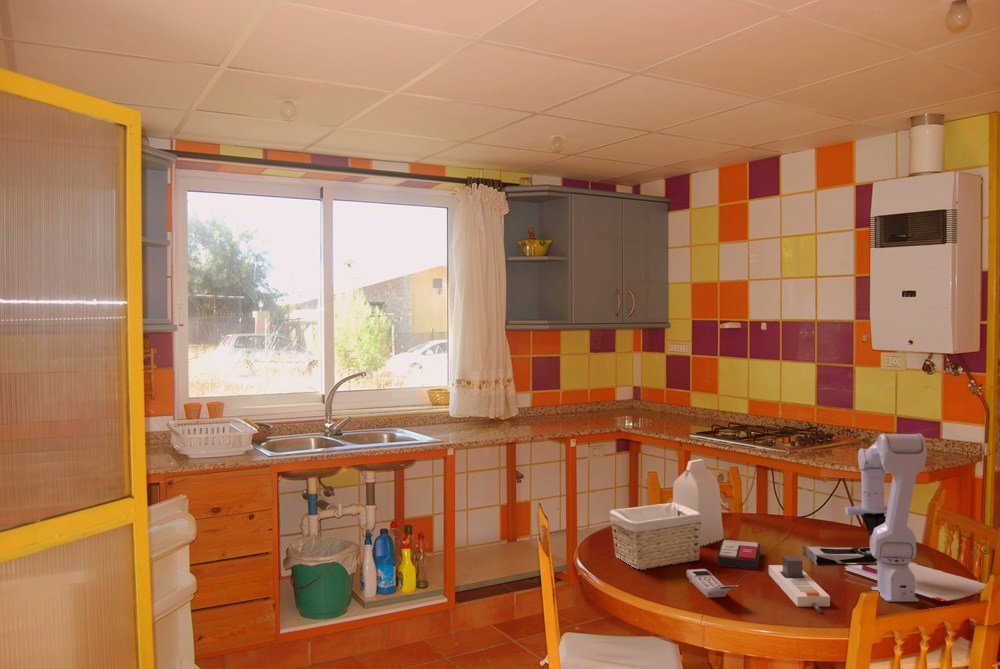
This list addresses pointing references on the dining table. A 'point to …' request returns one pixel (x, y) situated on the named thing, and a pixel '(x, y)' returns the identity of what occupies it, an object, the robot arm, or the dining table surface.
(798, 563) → the plug
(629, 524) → the storage basket
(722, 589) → the mobile phone
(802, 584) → the power strip
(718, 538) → the milk
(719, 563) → the dark grey box
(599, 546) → the dining table surface
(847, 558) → the graphics card
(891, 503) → the robot arm
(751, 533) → the dining table surface
